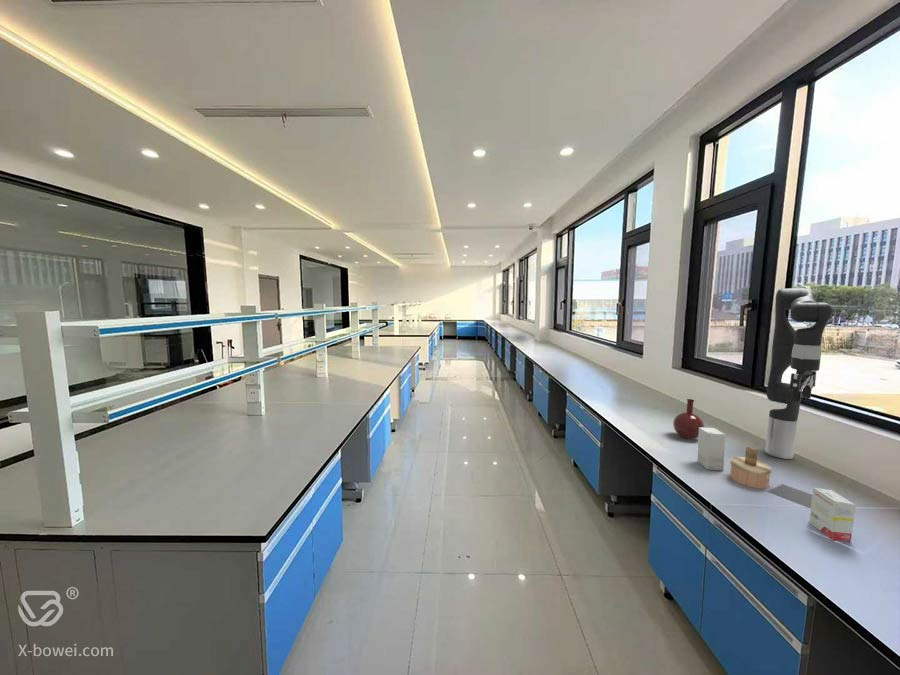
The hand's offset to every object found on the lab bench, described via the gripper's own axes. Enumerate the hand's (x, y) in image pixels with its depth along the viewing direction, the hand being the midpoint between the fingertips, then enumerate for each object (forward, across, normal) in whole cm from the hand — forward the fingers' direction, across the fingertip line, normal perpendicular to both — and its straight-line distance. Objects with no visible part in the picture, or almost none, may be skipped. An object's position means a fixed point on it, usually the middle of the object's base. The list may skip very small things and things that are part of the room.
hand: (801, 399), depth 130 cm
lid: (+27, +14, -8) cm, 31 cm away
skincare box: (+33, +13, -22) cm, 42 cm away
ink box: (+33, +28, +18) cm, 47 cm away
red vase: (+33, -11, -44) cm, 56 cm away
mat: (+33, +11, +5) cm, 35 cm away
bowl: (+33, +14, -8) cm, 36 cm away
